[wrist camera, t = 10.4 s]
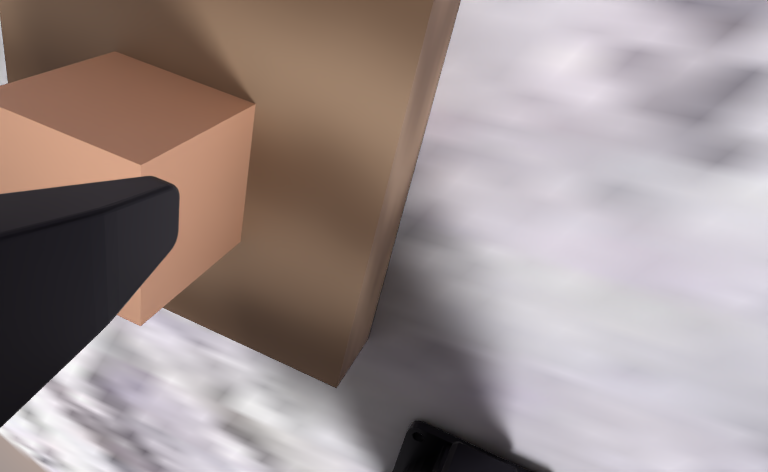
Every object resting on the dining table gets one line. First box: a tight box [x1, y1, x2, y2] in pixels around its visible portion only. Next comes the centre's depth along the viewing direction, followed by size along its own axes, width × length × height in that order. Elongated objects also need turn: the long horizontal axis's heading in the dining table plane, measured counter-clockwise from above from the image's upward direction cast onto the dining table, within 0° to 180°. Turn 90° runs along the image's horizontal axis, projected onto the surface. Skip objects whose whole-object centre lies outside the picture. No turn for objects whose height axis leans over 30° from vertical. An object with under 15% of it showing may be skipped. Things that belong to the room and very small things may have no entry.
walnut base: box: [0, 0, 461, 388], centre depth 22 cm, size 14×14×3 cm
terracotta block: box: [0, 51, 256, 326], centre depth 18 cm, size 5×5×5 cm
